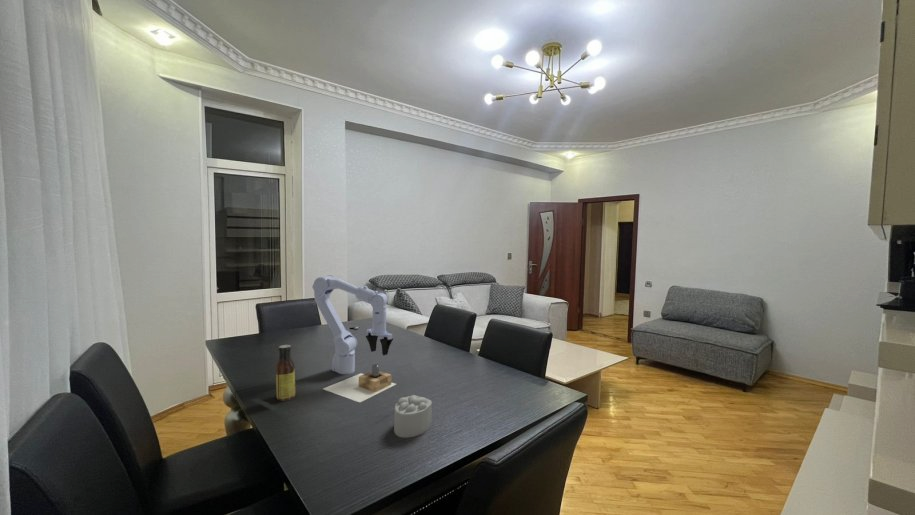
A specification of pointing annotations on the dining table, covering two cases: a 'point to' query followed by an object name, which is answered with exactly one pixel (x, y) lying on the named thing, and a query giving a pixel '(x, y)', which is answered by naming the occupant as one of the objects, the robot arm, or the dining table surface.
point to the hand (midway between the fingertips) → (379, 352)
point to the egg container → (412, 416)
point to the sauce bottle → (285, 374)
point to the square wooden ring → (375, 381)
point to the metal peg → (375, 371)
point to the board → (353, 389)
